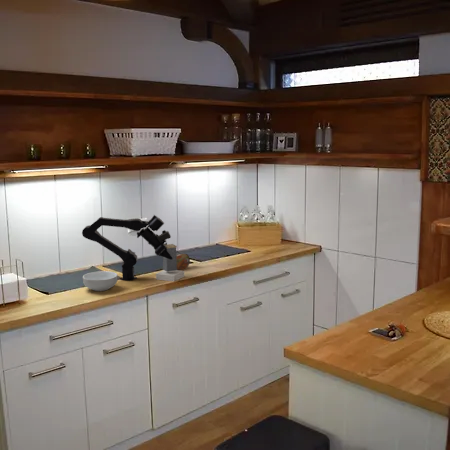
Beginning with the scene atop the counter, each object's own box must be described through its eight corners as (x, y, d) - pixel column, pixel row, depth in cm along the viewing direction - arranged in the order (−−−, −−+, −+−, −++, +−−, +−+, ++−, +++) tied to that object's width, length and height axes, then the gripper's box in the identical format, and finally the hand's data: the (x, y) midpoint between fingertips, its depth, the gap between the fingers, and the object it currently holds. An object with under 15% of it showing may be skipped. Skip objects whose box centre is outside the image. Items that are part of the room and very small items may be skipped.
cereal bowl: (76, 289, 272) (75, 275, 271) (104, 282, 284) (104, 269, 283) (96, 295, 260) (95, 281, 259) (124, 288, 272) (124, 274, 271)
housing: (166, 271, 287) (166, 246, 285) (162, 269, 292) (162, 244, 290) (177, 270, 290) (176, 245, 288) (172, 268, 295) (172, 243, 293)
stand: (174, 281, 285) (173, 275, 284) (155, 279, 289) (155, 273, 289) (184, 276, 295) (184, 271, 294) (166, 274, 299) (166, 269, 299)
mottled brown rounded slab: (172, 272, 304) (172, 257, 303) (168, 271, 306) (168, 256, 305) (190, 267, 316) (190, 252, 315) (186, 266, 318) (185, 252, 317)
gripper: (161, 229, 278) (183, 250, 281) (161, 223, 296) (182, 243, 299) (145, 245, 279) (168, 265, 281) (147, 238, 297) (168, 257, 300)
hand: (172, 257), depth 290 cm, fingers closed on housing, 7 cm apart
